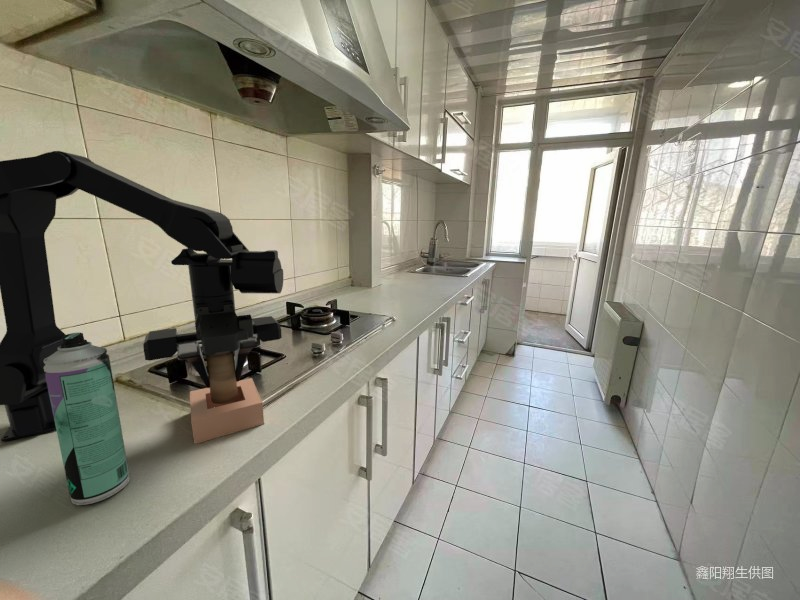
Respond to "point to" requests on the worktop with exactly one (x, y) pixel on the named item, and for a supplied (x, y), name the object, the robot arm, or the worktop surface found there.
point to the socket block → (225, 412)
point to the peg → (222, 377)
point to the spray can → (86, 419)
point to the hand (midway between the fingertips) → (223, 383)
